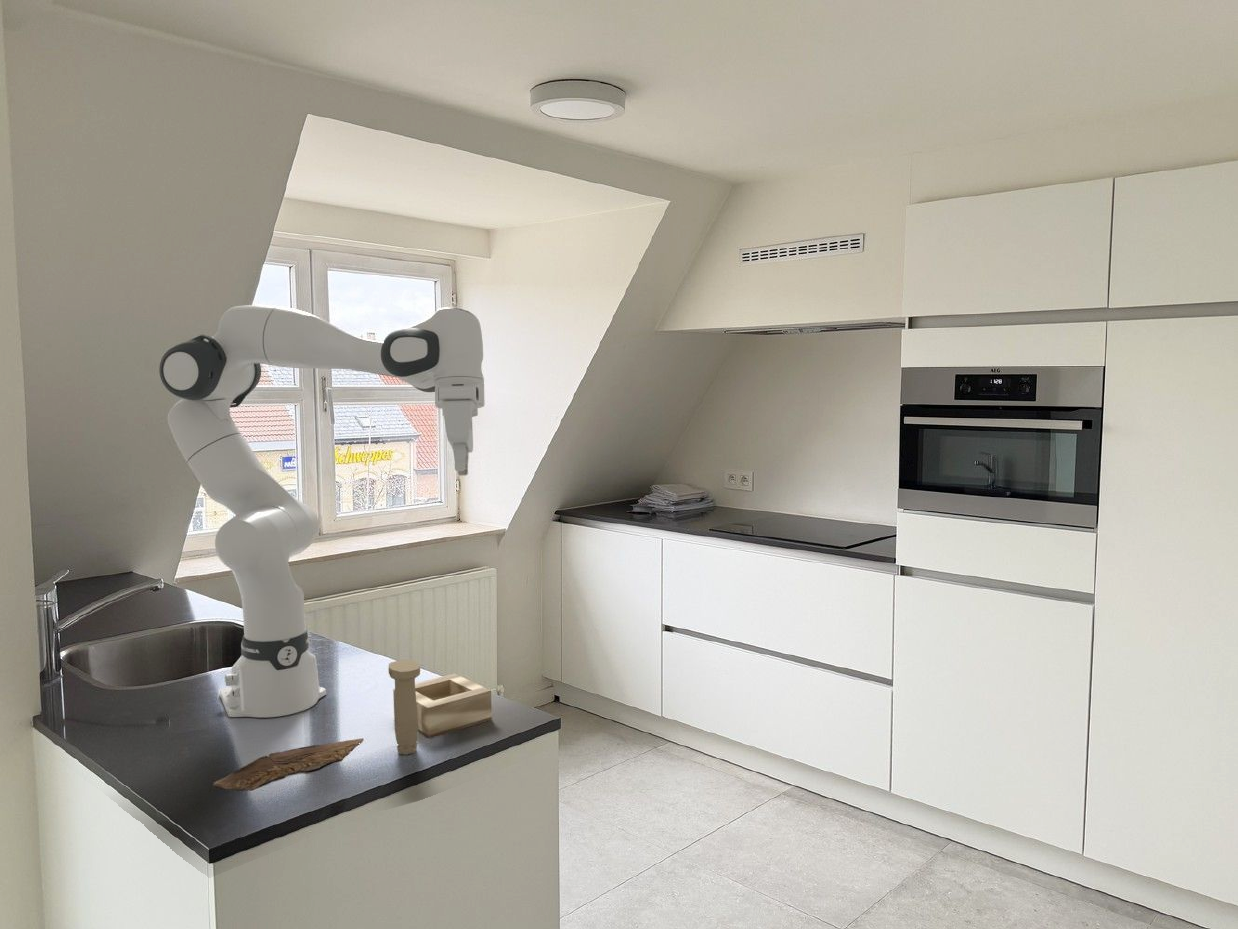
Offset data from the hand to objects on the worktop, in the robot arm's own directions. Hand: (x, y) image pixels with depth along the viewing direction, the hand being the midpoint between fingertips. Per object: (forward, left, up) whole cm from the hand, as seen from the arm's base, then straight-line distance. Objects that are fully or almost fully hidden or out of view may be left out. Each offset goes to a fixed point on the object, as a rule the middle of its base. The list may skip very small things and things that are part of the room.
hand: (461, 473), depth 166 cm
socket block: (-4, -3, -46) cm, 46 cm away
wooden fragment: (-4, -31, -46) cm, 56 cm away
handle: (+5, -15, -46) cm, 49 cm away
